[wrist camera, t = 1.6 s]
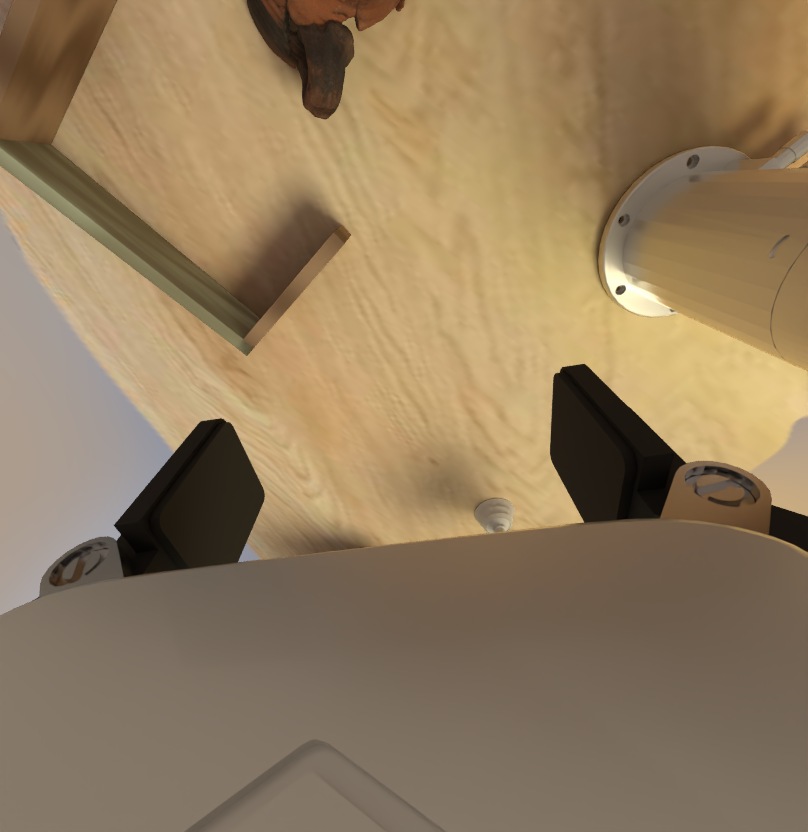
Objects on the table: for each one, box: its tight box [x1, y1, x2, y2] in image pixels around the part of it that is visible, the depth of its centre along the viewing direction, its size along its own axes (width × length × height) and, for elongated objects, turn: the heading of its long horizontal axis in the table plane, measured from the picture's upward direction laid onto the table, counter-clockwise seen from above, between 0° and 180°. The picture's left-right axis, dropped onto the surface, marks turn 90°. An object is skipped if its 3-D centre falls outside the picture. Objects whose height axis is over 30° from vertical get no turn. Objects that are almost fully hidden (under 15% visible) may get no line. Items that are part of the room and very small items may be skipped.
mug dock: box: [0, 0, 351, 356], centre depth 27 cm, size 12×20×5 cm, turn 44°
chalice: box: [475, 498, 515, 533], centre depth 40 cm, size 7×7×18 cm
